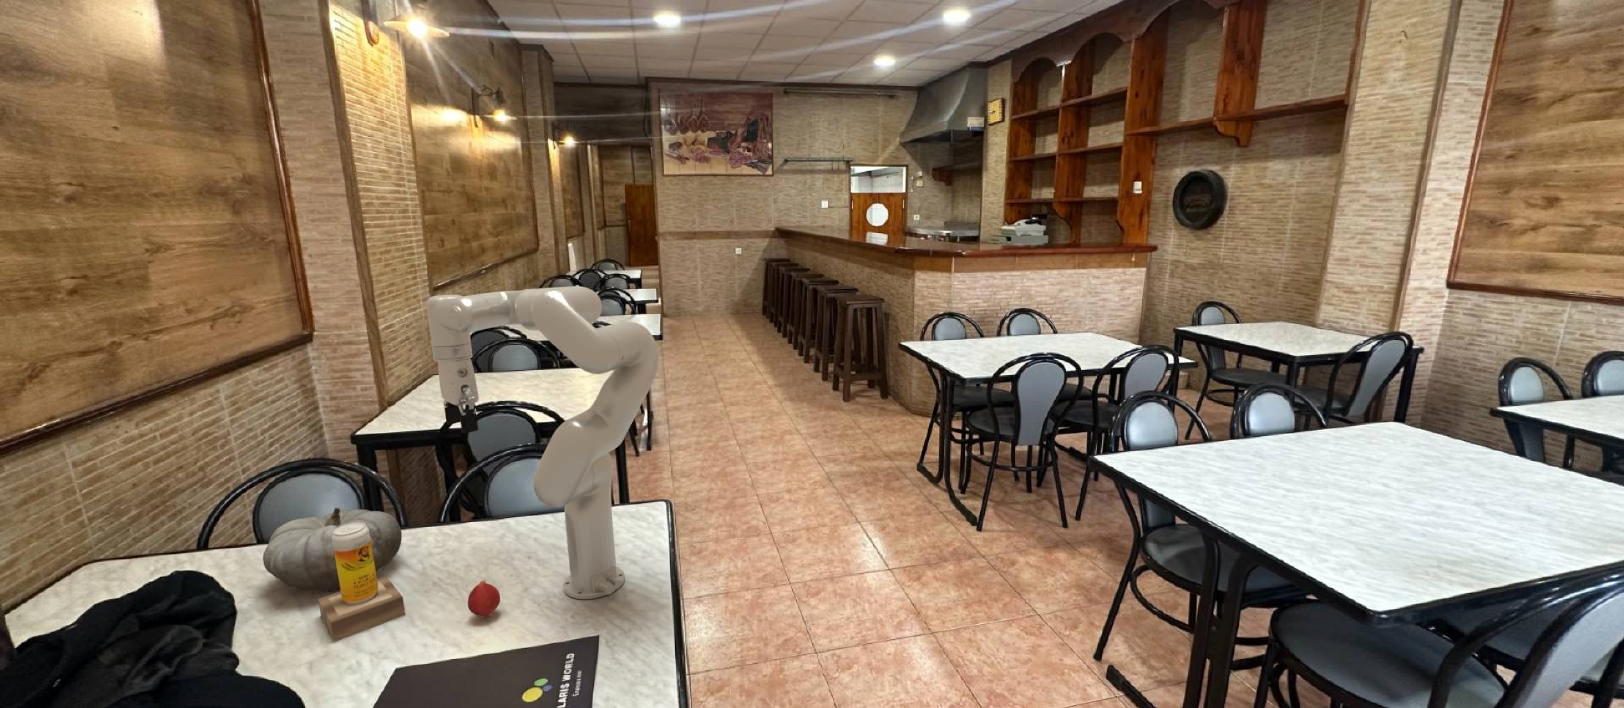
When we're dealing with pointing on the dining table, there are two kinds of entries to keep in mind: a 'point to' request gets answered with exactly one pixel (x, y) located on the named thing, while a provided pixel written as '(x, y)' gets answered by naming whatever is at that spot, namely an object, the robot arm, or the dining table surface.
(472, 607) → the onion
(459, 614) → the dining table surface
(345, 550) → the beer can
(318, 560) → the gourd
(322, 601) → the walnut plinth
